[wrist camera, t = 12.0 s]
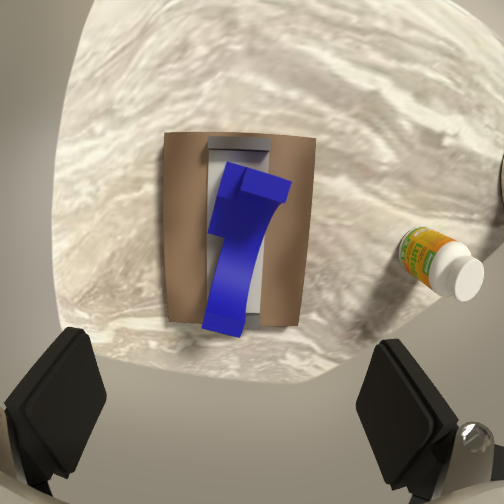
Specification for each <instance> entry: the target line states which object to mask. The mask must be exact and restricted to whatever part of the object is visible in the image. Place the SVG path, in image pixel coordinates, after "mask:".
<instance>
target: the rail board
mask: <svg viewBox="0 0 504 504" xmlns="http://www.w3.org/2000/svg"><path fill="white" fill-rule="evenodd" d="M315 148H316V138H308V137H298V136H287V135H274V134H259V133H236V132H170V133H164V157H163V236H164V261H165V279H166V294H167V306H168V318H169V322H182V323H199V324H202V323H203V319H204V314H205V310H206V305H207V301H208V296H209V292H210V288H211V285H212V281H213V277H214V274H215V270H216V267H217V263H218V259H219V256H220V252H221V249H222V245H223V242H224V238H223V237H219V236H216V235H212V234H208V233H207V232H208V228H209V225H210V221H211V217H212V213H213V209H214V205H215V201H216V196H217V193H218V189H219V186H220V182H221V179H222V176H223V172H224V169H225V165H226V162H231V163H235V164H238V165H242V166H245V167H248V168H252V169H255V170H258V171H262V172H265V173H268V174H271V175H275V176H278V177H281V178H284V179H286V180H289V181H292V184H291V187H290V190H289V193H288V196H287V199H286V202H285V203H282V204H280V205H279V207H278V208H277V209H276V211H275V213H274V214H273V216H272V218H271V220H270V223H269V225H268V227H267V230H266V232H265V235H264V238H263V241H262V244H261V247H260V250H259V253H258V256H257V260H256V263H255V267H254V271H253V275H252V279H251V283H250V288H249V293H248V299H247V306H246V318H245V320H246V322H245V325H244V328H243V329H260V326H298V322H299V315H300V308H301V300H302V292H303V284H304V276H305V267H306V258H307V248H308V239H309V228H310V217H311V206H312V193H313V180H314V165H315Z"/></svg>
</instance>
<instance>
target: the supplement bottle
mask: <svg viewBox="0 0 504 504" xmlns="http://www.w3.org/2000/svg"><path fill="white" fill-rule="evenodd" d="M399 260H400V263H401V265H402V266H403V268H404V269H405V270H407V271H408V272H409V273H410V274H412V275H413V276H414V277H416V278H417V279H418V280H420V281H421V282H422V283H424V284H425V285H426V286H428V287H429V288H430V289H431V290H433V291H434V292H435V293H437V294H438V295H440V296H444V297H449V296H453V297H454V298H456V299H457V300H459V301H461V302H466V301H469V300H470V299H472V298H473V297H474V296H475V295H476V294H477V293H478V291H479V289H480V288H481V285H482V283H483V279H484V267H483V265H482V263H481V262H480V261H479V260H477V259H476V258H474V257H472V256H471V253H470V251H469V249H468V248H467V247H466V246H465V245H463V244H462V243H460V242H458V241H456V240H454V239H452V238H449V237H447V236H445V235H443V234H440V233H438V232H436V231H434V230H431V229H429V228H427V227H422V226H420V227H415V228H413V229H411V230H410V231H409V232H408V233H407V234H406V235H405V236H404V237H403V239H402V241H401V244H400V247H399Z"/></svg>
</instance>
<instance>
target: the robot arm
mask: <svg viewBox="0 0 504 504" xmlns="http://www.w3.org/2000/svg"><path fill="white" fill-rule="evenodd" d="M501 187H502V196H503V202H504V159H503V165H502V174H501ZM106 397H107V395H106V391H105V388H104V384H103V382H102V378H101V375H100V372H99V369H98V366H97V362H96V359H95V355H94V352H93V348H92V345H91V341H90V337H89V335H88V334H86V333H85V331H84V330H83V329H80V328H74V327H67V328H65V329H64V331H63V332H62V333H61V334H60V335H59V336H58V337H57V338H56V340H55V341H54V342H53V343H52V344H51V345H50V346H49V348H48V349H47V350H46V351H45V352H44V354H43V355H42V356H41V357H40V358H39V359H38V361H37V362H36V363H35V364H34V365H33V367H32V368H31V369H30V370H29V371H28V373H27V374H26V375H25V377H24V378H23V379H22V380H21V381H20V383H19V384H18V385H17V387H16V388H15V389H14V390H13V392H12V393H11V394H10V396H9V397H8V398H7V400H6V401H5V402H4V404H5V405H6V407H7V408H6V410H5V411H4V410H3V409H2V408H1V407H0V504H68V503H66V502H63V501H61V500H59V498H58V495H57V493H56V490H55V488H54V485H53V483H52V479H51V477H52V475H53V473H54V474H56V475H58V476H61V477H63V478H66V479H68V477H69V474H70V473H73V472H74V471H75V469H76V467H77V465H78V462H79V460H80V458H81V455H82V453H83V451H84V448H85V446H86V444H87V441H88V439H89V437H90V435H91V432H92V430H93V428H94V426H95V423H96V421H97V419H98V417H99V415H100V413H101V410H102V408H103V406H104V404H105V402H106ZM356 410H357V413H358V416H359V418H360V420H361V423H362V425H363V428H364V430H365V433H366V435H367V438H368V440H369V443H370V445H371V448H372V450H373V453H374V455H375V458H376V460H377V463H378V466H379V468H380V471H381V473H382V476H383V479H384V481H385V483H386V484H390V486H391V488H392V490H396V489H400V488H402V487H406V486H407V488H408V491H409V493H408V495H407V498H406V500H405V502H404V504H504V447H503V446H499V445H496V444H494V443H495V442H494V436H493V434H492V432H491V430H490V429H489V428H488V427H487V426H485V425H484V424H482V423H479V422H474V421H471V422H466V423H464V424H462V425H461V426H460V427H459V426H458V425H457V422H458V418H457V417H456V415H455V414H454V412H453V411H452V409H451V408H450V407H449V405H448V404H447V402H446V401H445V399H444V398H443V397H442V395H441V394H440V393H439V391H438V390H437V389H436V387H435V386H434V384H433V383H432V382H431V380H430V379H429V378H428V376H427V375H426V374H425V373H424V371H423V370H422V368H421V367H420V366H419V364H418V363H417V362H416V360H415V359H414V358H413V356H412V355H411V354H410V352H409V351H408V350H407V349H406V347H405V346H404V345H403V344H402V342H401V341H400V340H399V339H387V340H382V341H381V342H380V343H379V344H378V345H376V346H375V349H374V352H373V355H372V358H371V361H370V364H369V367H368V370H367V373H366V376H365V379H364V382H363V385H362V387H361V390H360V393H359V396H358V398H357V401H356Z"/></svg>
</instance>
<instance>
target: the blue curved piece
mask: <svg viewBox="0 0 504 504" xmlns="http://www.w3.org/2000/svg"><path fill="white" fill-rule="evenodd" d="M291 184H292V181H289V180H286V179H284V178H281V177H278V176H275V175H271V174H268V173H265V172H262V171H258V170H255V169H252V168H248V167H245V166H242V165H238V164H235V163H231V162H226V165H225V169H224V172H223V176H222V179H221V182H220V186H219V189H218V193H217V196H216V201H215V205H214V209H213V213H212V217H211V221H210V225H209V228H208V232H207V233H208V234H212V235H216V236H219V237H223V238H224V242H223V245H222V249H221V252H220V256H219V259H218V263H217V267H216V270H215V274H214V277H213V281H212V285H211V288H210V292H209V296H208V301H207V305H206V310H205V314H204V319H203V323H202V329H206V330H210V331H214V332H218V333H222V334H226V335H230V336H234V337H239V338H240V336H241V333H242V331H243V328H244V325H245V322H246V320H245V318H246V306H247V299H248V293H249V288H250V283H251V279H252V275H253V271H254V267H255V263H256V260H257V256H258V253H259V250H260V247H261V244H262V241H263V238H264V235H265V232H266V230H267V227H268V225H269V223H270V220H271V218H272V216H273V214H274V213H275V211H276V209H277V208H278V207H279V205H280V204H282V203H285V202H286V199H287V196H288V193H289V190H290V187H291Z"/></svg>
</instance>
